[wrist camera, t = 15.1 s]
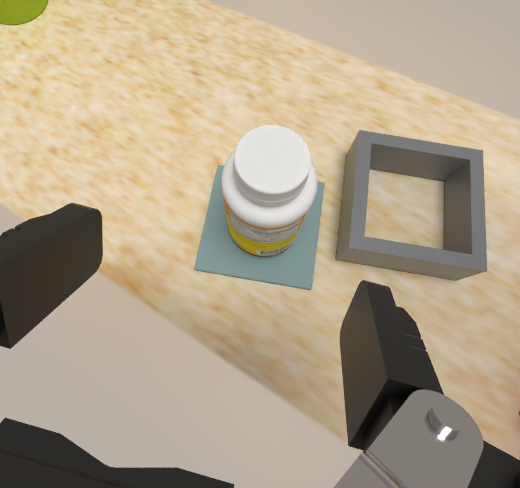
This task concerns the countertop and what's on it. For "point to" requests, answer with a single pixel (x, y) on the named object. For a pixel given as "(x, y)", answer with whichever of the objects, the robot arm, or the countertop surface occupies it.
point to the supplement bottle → (268, 190)
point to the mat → (250, 267)
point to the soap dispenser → (20, 10)
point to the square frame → (455, 206)
